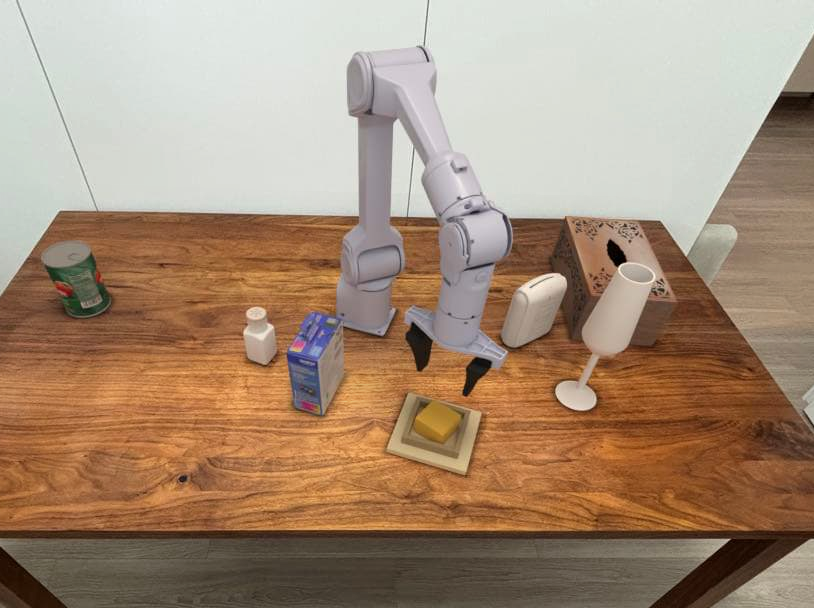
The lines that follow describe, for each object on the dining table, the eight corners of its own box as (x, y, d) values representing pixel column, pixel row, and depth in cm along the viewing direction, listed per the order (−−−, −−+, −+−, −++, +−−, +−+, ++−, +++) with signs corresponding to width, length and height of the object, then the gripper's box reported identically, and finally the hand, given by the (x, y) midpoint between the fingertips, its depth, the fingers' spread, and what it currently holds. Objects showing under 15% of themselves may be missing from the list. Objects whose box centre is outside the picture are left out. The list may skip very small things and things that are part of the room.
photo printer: (536, 319, 101) (556, 263, 92) (553, 332, 99) (575, 275, 89) (496, 338, 97) (512, 281, 88) (512, 352, 95) (531, 295, 85)
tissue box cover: (651, 346, 97) (677, 302, 89) (571, 340, 97) (590, 295, 90) (618, 263, 114) (638, 221, 106) (550, 258, 114) (565, 215, 107)
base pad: (386, 452, 80) (387, 442, 78) (408, 395, 87) (409, 385, 85) (465, 475, 77) (468, 465, 75) (480, 415, 85) (484, 405, 83)
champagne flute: (574, 416, 85) (637, 294, 67) (546, 388, 89) (599, 265, 71) (605, 402, 88) (674, 280, 69) (577, 375, 91) (635, 253, 73)
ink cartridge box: (314, 366, 91) (311, 297, 80) (345, 374, 90) (345, 305, 79) (290, 407, 85) (283, 339, 74) (323, 417, 84) (320, 348, 73)
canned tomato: (56, 311, 98) (29, 259, 90) (86, 287, 103) (63, 236, 94) (91, 322, 96) (67, 271, 88) (120, 297, 101) (100, 246, 93)
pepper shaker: (278, 352, 93) (273, 309, 85) (266, 367, 90) (260, 324, 83) (259, 345, 94) (252, 302, 86) (246, 359, 91) (238, 316, 84)
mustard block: (412, 430, 81) (414, 417, 79) (431, 411, 84) (434, 398, 81) (440, 447, 79) (443, 435, 77) (458, 428, 82) (461, 415, 79)
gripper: (528, 312, 66) (502, 386, 76) (428, 267, 71) (417, 343, 82) (501, 342, 62) (478, 416, 73) (398, 293, 68) (391, 368, 78)
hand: (444, 379), depth 77 cm, fingers open, 7 cm apart
